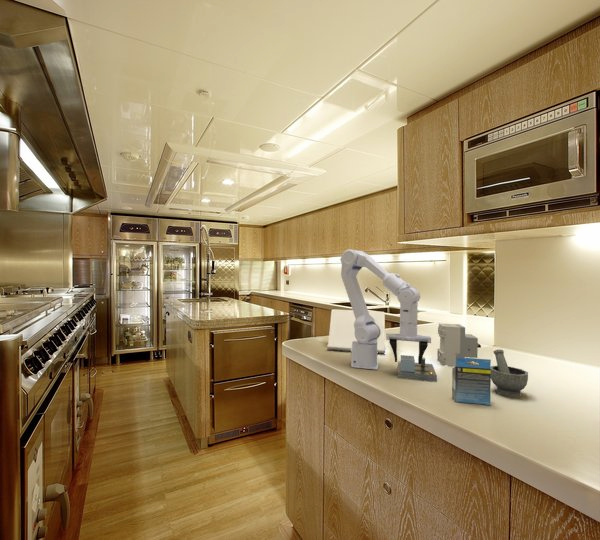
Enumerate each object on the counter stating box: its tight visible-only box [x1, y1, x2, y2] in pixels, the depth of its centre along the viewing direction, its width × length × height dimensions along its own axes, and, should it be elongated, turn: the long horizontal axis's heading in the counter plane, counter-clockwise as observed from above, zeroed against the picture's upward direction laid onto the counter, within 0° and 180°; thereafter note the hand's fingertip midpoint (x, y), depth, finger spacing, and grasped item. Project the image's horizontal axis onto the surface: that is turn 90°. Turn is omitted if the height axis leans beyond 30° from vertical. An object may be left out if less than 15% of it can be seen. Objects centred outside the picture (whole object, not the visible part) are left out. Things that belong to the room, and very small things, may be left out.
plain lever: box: [421, 355, 426, 366], centre depth 116 cm, size 1×3×3 cm, turn 164°
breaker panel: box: [397, 360, 438, 383], centre depth 113 cm, size 12×14×2 cm
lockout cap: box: [400, 354, 416, 372], centre depth 111 cm, size 4×6×4 cm
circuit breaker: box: [436, 322, 482, 367], centre depth 127 cm, size 8×14×15 cm, turn 78°
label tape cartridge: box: [451, 357, 492, 406], centre depth 90 cm, size 9×4×12 cm, turn 77°
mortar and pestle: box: [490, 349, 529, 399], centre depth 97 cm, size 11×9×12 cm
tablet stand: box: [326, 308, 386, 354], centre depth 149 cm, size 18×25×17 cm
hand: (407, 362), depth 111 cm, fingers open, 7 cm apart
